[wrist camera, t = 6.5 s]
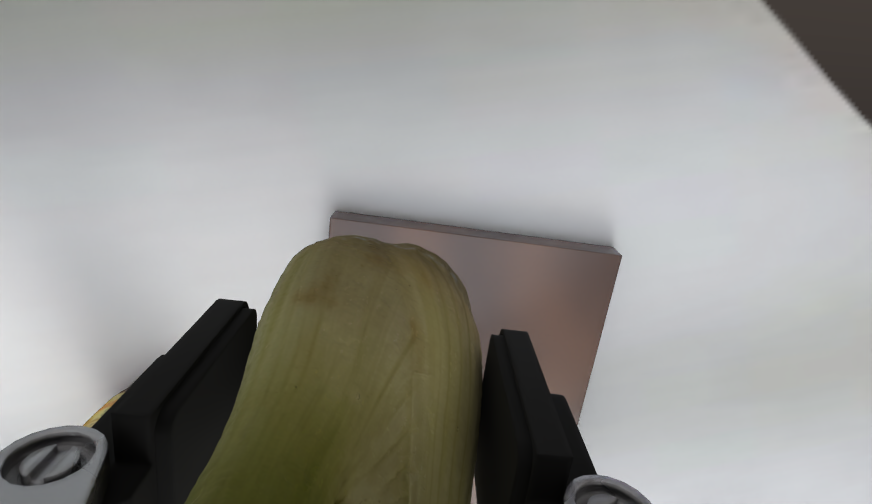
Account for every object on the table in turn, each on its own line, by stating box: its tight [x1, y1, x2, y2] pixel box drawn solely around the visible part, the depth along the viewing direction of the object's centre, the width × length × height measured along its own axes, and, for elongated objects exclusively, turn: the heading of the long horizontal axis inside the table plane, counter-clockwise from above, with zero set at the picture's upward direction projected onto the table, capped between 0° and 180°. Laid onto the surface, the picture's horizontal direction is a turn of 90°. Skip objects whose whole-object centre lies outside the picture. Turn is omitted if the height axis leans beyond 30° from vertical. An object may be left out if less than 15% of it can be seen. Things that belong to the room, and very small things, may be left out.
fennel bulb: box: [184, 235, 483, 504], centre depth 8 cm, size 6×5×12 cm
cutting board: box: [329, 211, 622, 504], centre depth 32 cm, size 16×20×2 cm
